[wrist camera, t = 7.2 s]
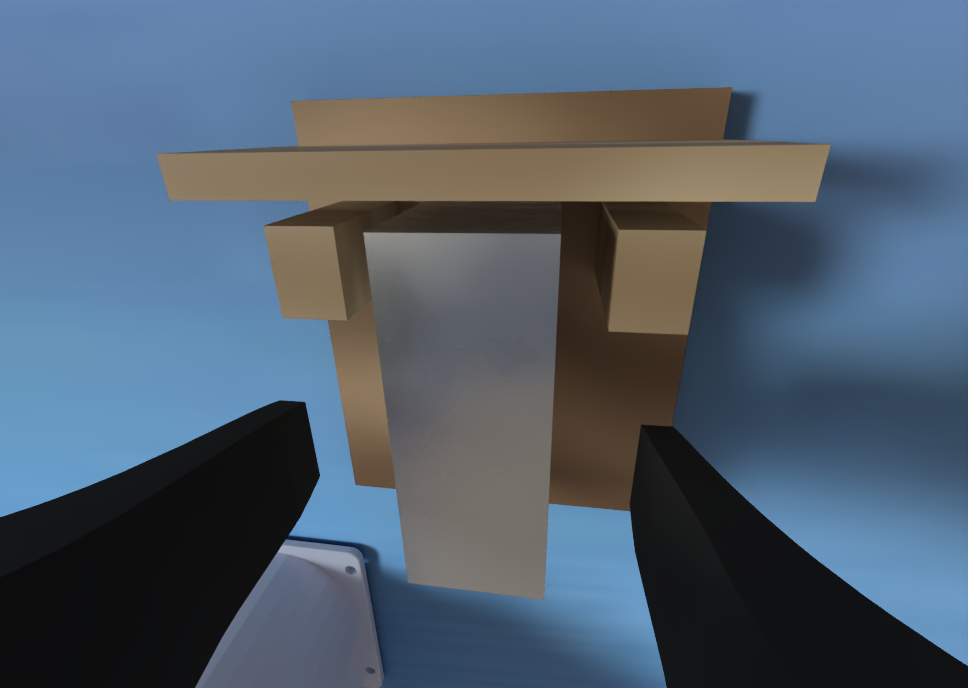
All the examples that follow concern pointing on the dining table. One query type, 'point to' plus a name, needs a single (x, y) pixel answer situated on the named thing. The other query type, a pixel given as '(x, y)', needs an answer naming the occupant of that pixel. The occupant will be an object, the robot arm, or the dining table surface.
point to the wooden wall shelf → (517, 177)
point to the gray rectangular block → (470, 385)
